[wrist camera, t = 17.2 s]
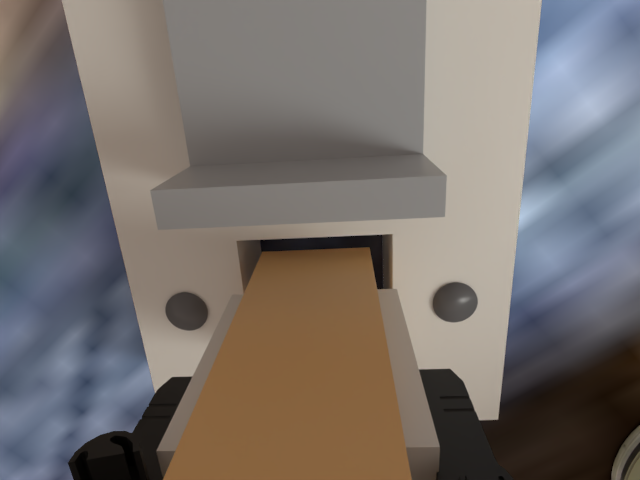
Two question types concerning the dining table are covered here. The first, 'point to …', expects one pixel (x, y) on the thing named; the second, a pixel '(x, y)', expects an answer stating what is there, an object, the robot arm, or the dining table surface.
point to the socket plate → (397, 234)
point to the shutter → (299, 113)
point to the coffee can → (628, 459)
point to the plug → (300, 380)
